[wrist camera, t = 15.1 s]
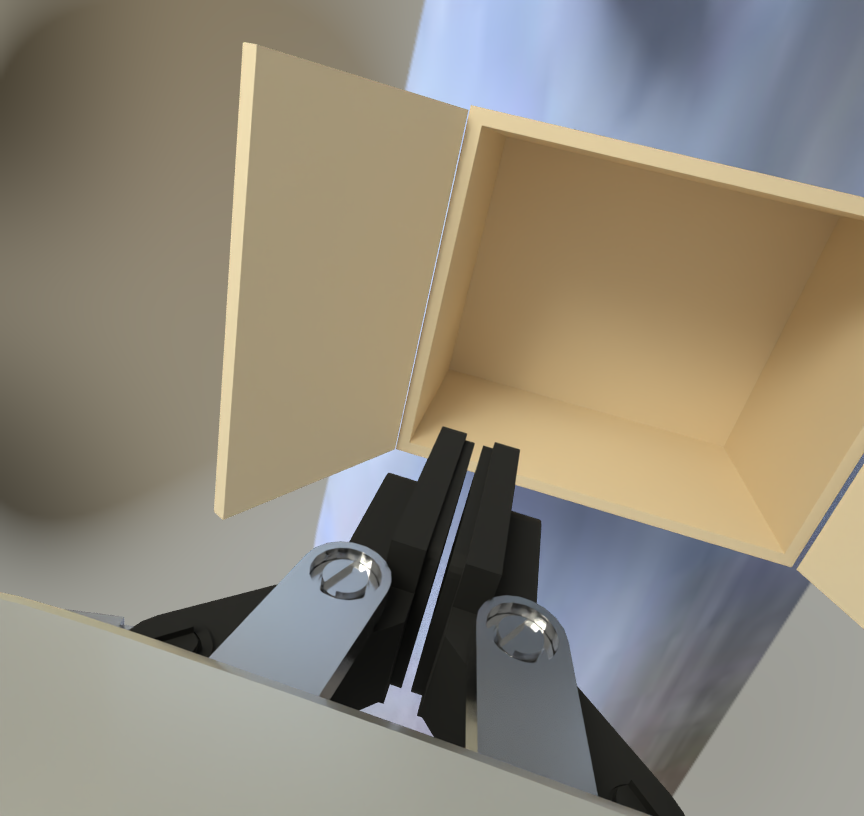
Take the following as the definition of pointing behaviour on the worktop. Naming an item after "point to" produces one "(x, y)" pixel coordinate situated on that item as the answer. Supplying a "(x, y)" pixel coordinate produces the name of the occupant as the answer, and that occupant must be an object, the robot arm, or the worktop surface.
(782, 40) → the worktop surface
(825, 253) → the carton
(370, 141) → the low flap
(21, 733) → the robot arm
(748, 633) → the worktop surface
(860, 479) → the raised flap
